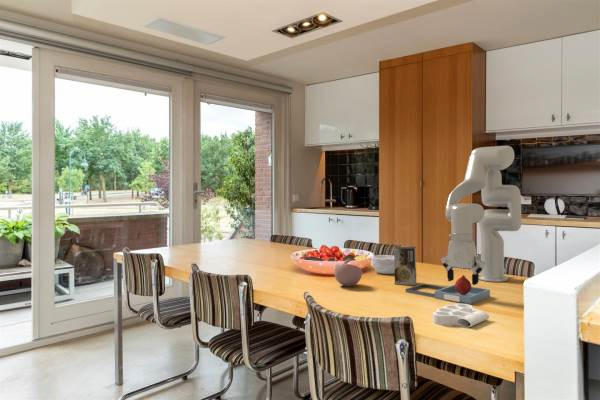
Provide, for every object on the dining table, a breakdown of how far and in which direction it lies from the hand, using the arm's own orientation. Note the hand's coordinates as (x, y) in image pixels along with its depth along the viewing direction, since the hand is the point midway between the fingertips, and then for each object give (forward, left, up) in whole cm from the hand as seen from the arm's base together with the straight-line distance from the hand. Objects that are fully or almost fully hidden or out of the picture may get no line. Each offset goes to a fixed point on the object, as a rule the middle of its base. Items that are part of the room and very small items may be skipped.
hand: (462, 282), depth 168 cm
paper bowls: (-21, -51, -6) cm, 56 cm away
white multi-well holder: (+28, +12, -6) cm, 31 cm away
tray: (+1, 0, -6) cm, 6 cm away
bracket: (+1, -14, -6) cm, 15 cm away
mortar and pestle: (+15, -45, -6) cm, 48 cm away
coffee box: (-6, -30, -6) cm, 31 cm away
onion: (0, 0, -5) cm, 5 cm away
